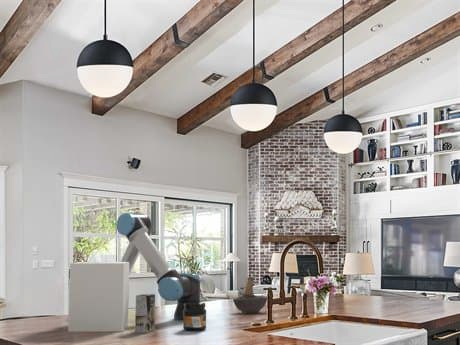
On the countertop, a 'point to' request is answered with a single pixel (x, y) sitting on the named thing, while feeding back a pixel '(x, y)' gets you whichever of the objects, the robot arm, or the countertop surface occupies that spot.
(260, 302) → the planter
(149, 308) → the coffee box
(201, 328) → the supplement container
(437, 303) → the countertop surface
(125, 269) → the shelf unit
